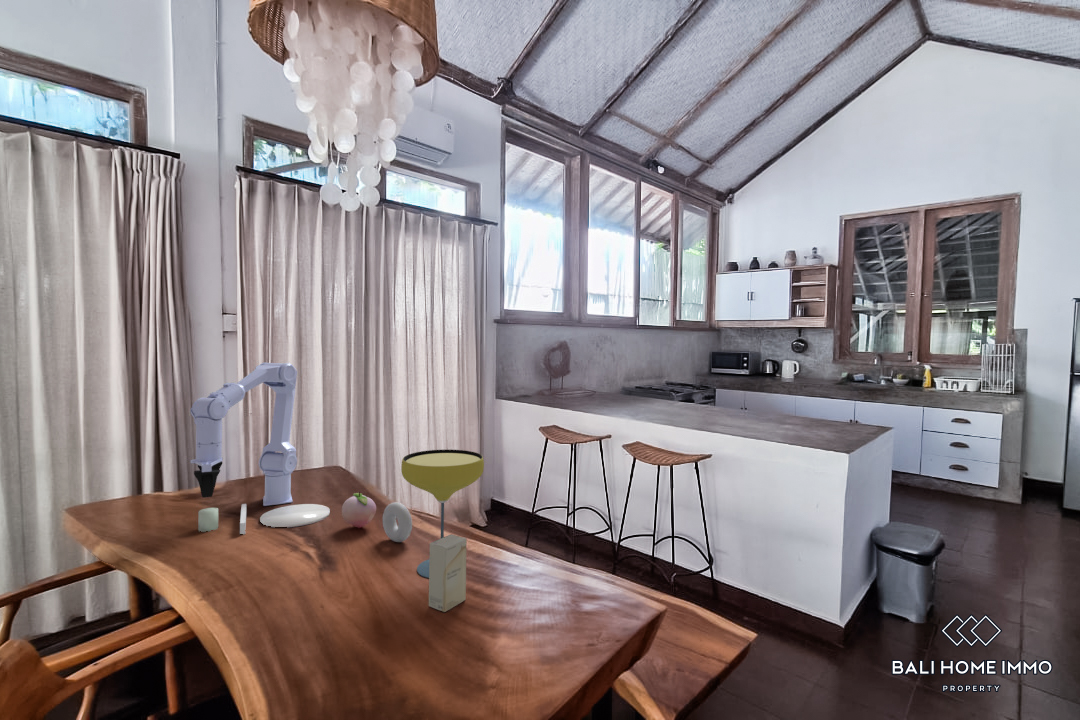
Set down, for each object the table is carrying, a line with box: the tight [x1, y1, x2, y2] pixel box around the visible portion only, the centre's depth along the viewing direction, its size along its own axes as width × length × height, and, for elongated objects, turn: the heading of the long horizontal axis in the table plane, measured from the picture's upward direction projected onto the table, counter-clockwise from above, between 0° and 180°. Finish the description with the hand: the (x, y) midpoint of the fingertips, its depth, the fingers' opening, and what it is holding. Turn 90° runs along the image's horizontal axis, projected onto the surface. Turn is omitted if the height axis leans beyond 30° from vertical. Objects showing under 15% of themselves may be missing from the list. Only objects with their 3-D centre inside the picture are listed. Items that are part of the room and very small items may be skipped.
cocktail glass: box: [400, 449, 485, 579], centre depth 109 cm, size 18×18×25 cm
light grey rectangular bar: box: [239, 503, 247, 535], centre depth 134 cm, size 18×1×3 cm, turn 30°
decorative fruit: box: [341, 491, 377, 529], centre depth 132 cm, size 9×8×10 cm
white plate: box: [259, 503, 331, 528], centre depth 141 cm, size 18×18×1 cm
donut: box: [382, 501, 413, 543], centre depth 124 cm, size 10×3×10 cm, turn 53°
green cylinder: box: [197, 507, 219, 533], centre depth 130 cm, size 4×4×5 cm
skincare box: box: [428, 533, 468, 613], centre depth 94 cm, size 6×4×12 cm
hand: (208, 493), depth 130 cm, fingers open, 7 cm apart
